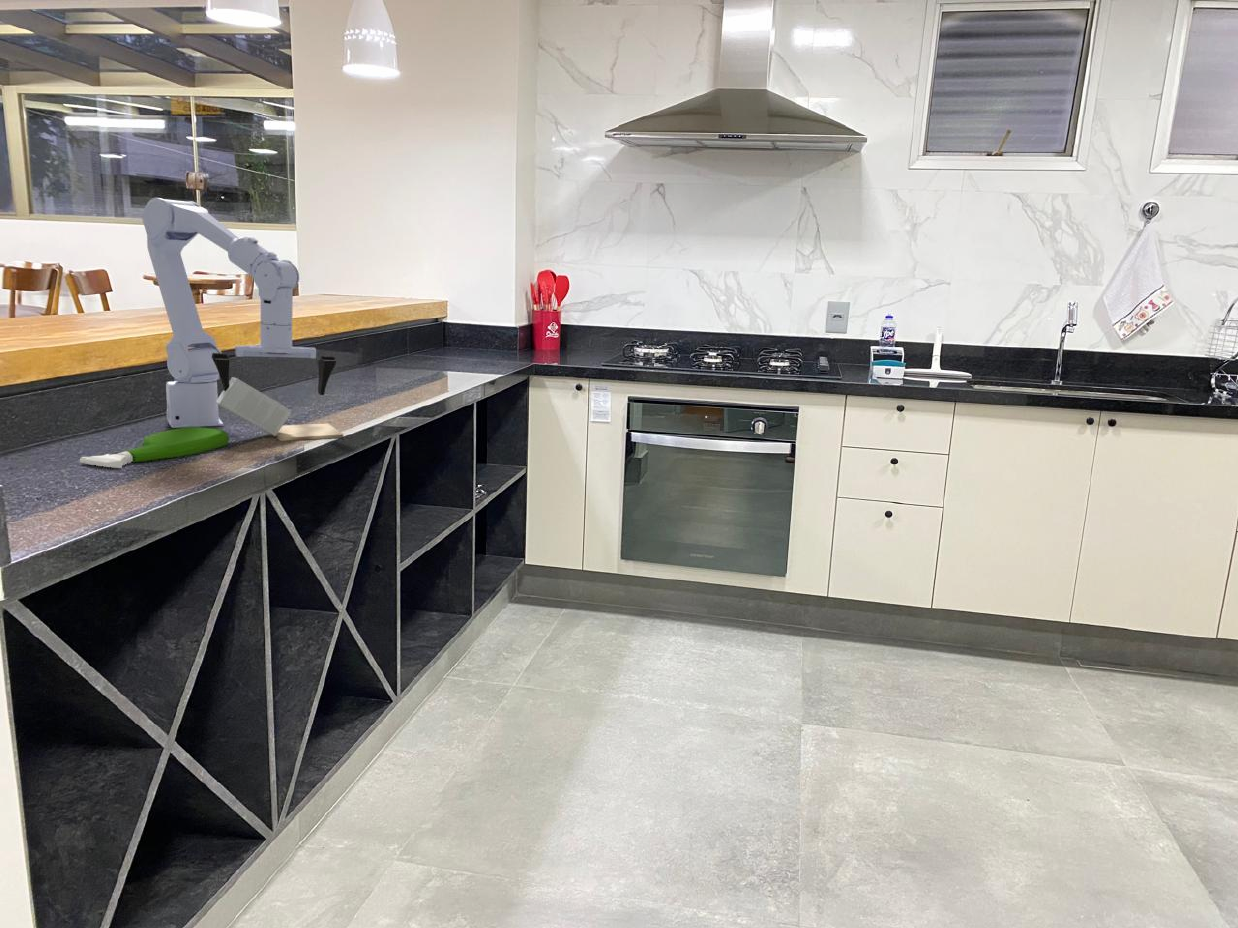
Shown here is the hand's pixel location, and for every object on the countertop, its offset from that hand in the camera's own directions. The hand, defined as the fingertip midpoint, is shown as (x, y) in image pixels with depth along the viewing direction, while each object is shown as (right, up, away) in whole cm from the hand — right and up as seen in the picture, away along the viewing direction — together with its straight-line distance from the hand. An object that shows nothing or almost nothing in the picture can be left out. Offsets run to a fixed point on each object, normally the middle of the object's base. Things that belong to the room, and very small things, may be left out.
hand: (276, 394), depth 172 cm
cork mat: (+4, -7, +5) cm, 10 cm away
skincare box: (+1, -6, +1) cm, 6 cm away
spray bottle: (-13, -12, -18) cm, 26 cm away
